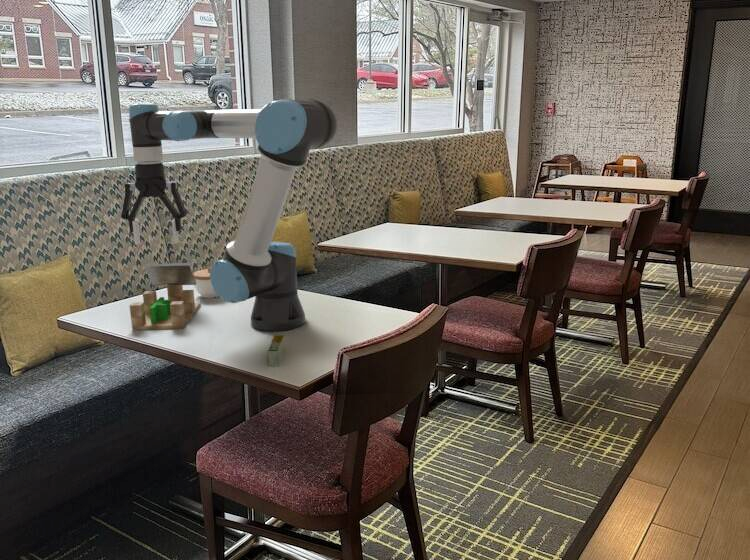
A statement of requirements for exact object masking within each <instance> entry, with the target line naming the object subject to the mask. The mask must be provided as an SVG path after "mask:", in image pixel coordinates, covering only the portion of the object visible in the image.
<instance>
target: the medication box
mask: <svg viewBox="0 0 750 560" xmlns="http://www.w3.org/2000/svg"><path fill="white" fill-rule="evenodd" d="M284 350H285V335H284V334H283V335H281V334H278V335H277V334H275V335H273V337H272V339H271V342H270V344H269V347H268V349H267V367H278V366H279V365H280V361H281V359H282V356H283V353H284Z"/></svg>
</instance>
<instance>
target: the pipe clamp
mask: <svg viewBox="0 0 750 560" xmlns="http://www.w3.org/2000/svg"><path fill="white" fill-rule="evenodd" d="M170 304H171V300H168V299H165V297H164V296H162V297H161V296H160V297H159V298H157V301H156V302H155V303H154V304H153V305H152V306H151V307H150V316H151V323H156V322H157V321H158V320H168V315H171V311H170Z"/></svg>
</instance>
